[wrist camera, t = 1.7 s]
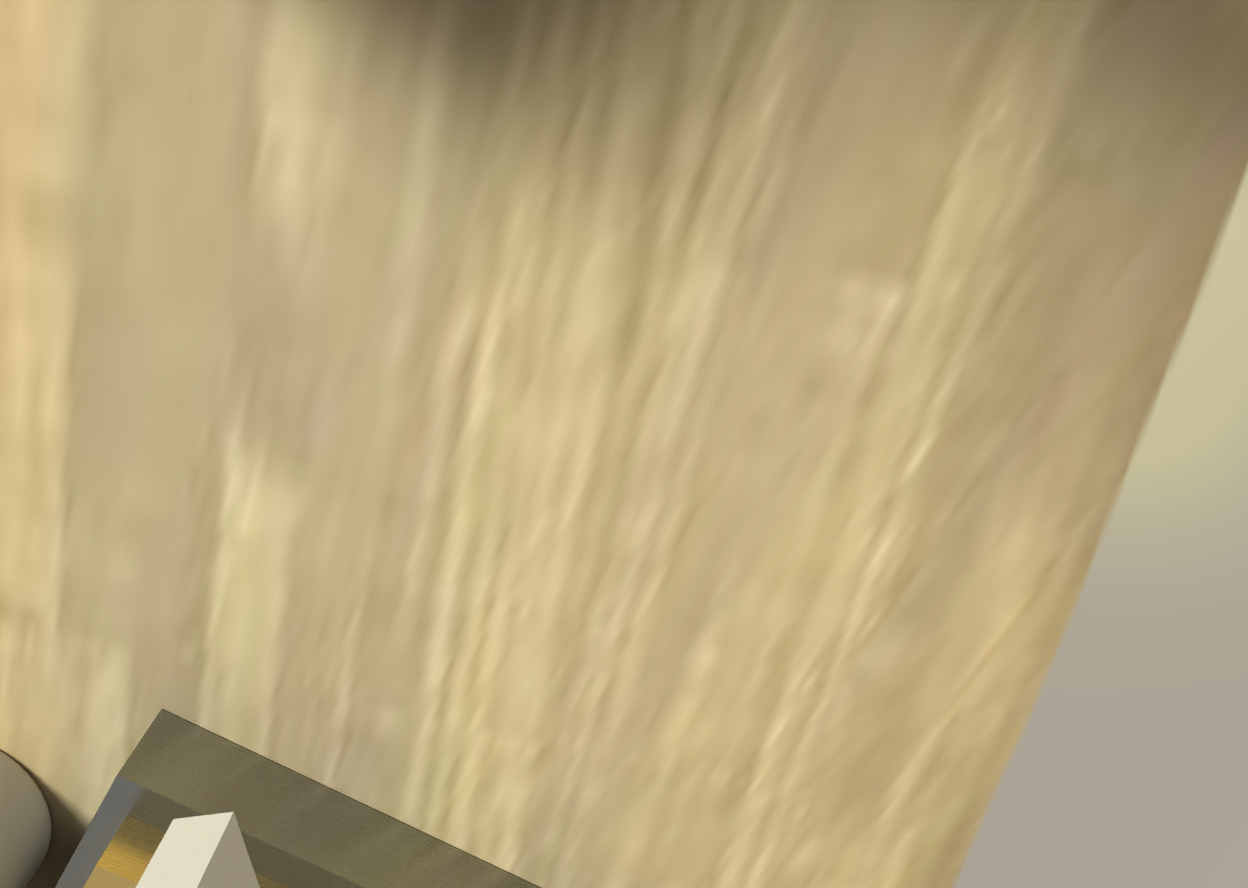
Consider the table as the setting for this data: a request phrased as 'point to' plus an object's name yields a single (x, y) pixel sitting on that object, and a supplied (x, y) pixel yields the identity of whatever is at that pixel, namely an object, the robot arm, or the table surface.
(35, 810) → the mug
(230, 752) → the yellow and grey tray
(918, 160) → the table surface
